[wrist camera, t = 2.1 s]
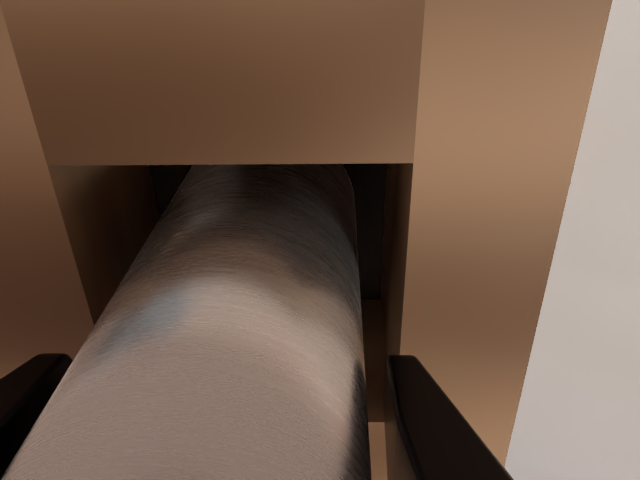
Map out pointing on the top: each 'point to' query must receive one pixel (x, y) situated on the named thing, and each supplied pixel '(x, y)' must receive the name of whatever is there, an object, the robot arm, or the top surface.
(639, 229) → the top surface
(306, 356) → the lock pin
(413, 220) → the pin mount
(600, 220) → the top surface
